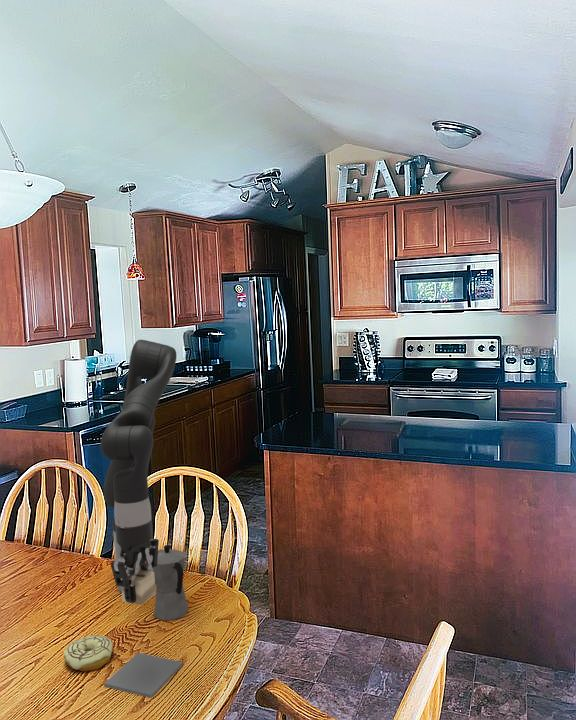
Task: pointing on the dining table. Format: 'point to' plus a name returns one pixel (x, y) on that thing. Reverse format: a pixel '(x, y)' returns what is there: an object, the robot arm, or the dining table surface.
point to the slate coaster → (144, 674)
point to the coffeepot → (169, 585)
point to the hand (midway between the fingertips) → (139, 595)
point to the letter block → (142, 587)
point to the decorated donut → (88, 653)
